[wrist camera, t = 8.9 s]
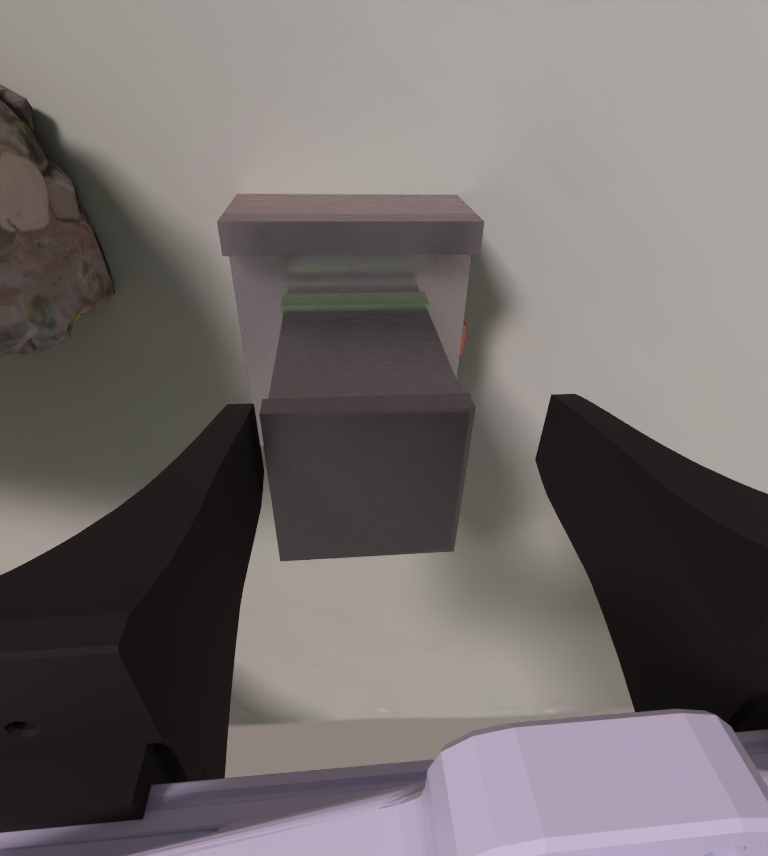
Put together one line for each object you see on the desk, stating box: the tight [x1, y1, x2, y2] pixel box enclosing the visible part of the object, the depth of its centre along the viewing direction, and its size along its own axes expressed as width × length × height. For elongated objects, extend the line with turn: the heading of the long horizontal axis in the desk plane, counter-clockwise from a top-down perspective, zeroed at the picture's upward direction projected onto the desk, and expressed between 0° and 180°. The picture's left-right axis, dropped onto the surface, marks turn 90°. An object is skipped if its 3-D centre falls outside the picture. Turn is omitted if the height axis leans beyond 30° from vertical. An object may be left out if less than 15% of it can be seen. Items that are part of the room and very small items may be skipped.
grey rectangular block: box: [259, 285, 475, 561], centre depth 15 cm, size 5×5×8 cm
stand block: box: [217, 194, 484, 446], centre depth 19 cm, size 9×8×4 cm
